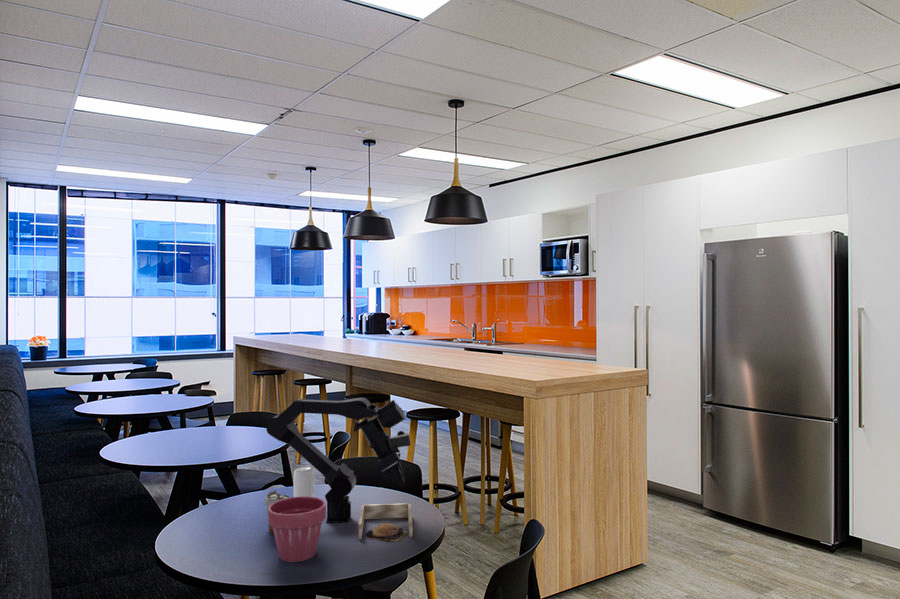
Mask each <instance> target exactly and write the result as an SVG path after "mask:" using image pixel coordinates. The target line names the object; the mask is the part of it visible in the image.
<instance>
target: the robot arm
mask: <svg viewBox="0 0 900 599" xmlns="http://www.w3.org/2000/svg"><path fill="white" fill-rule="evenodd" d="M301 414H317V415H318V414H319V415H336V416H337V415H338V416H342V417H345V418H348V419H351V420H356V421H355V422H354V427H353V432H354V433H355V432H357V431H359V430H361V432H362V434H363V435H364V436H365V439H366V440H367V442H368V445H369V447H370V449H372V451H373V452H374V454H375V455H376V459H377V461H378V463H377V468H378V469H379V471H380V472H382V473H383V474H385V475H386V476H387V477H389V478H390V479H392V480H393V481H394V482H396V483H397V484H398V485H400V486H401V487H402V486H403V487H404V486H405V484H406V483H405V479H406V478H405V475H404V471H403V468H402V466H401V459H400V458H401V452H400V451H401V450H400V448H401V447H402V448H403V447H410V446H411V445H412V443H411V438H410V433H406V432H404V431H403V430H399V431H397V434H396V435H394V436H390V434H389V433H387V432H386V431H385V429H384V428H387V429H389V430H390V429H391V428H393V427H395V426H396V425H398V424H400V423H401V422H403V421H405V420H406V414H405V413H404V410H403V409H402V407H401V406H399V404H398V403H397V402H396V401H395V399H392V400H390V401H389V402H388V403H387V404H386V405H384V406H382V407H380V406H378V405H375V404H372V403H371V402H370V401H369V400H368V399H367V398H365V397H356V398H350V399H344V400H327V399H325V400H322V399H305V398H299V399H298V398H297V399H296V400H294V401H292V403H291V404H290V405H289V406H288V407H287V408H286V409H285V410H283V411H282V412H281V413H280V414H278V415H275V416H273V417H272V418H270V419H269V420H268V421H267V422H266V425H265V426H266V432H267V435H270V436H271V437H273V438H274V439H276V440H277V441H279V442H282V443H284V444H287V445H289V447H291V448H292V449H293V450H294V451H296V453H298V454H299V455H300V456H301V457H302V458H303V459H304V460H306V461H307V462H308V463H309V464H310V466H312V467H314V468H315V469H316V471H318V472H319V473H320V474H321V475H323V477H324V478H325V481H326V483H327V484H328V486H329V488H330V489H329V490H328V491H327V492H326V494H325V495H324V498H325V500H326V518H325V519H326V521H325V523H347V522H349V521H350V518H352V517H351V516H352V501H351V500H350V496H349V494H350V493H351V492H352V491H353V489H354V488H355V487H356V483H357V477H356V475H355V474H354V472H355V471H354V470H352V468H351V469H350V468H349V467H348V465H347V464H346V463H344V462H343V463H342V464H340V465H339V464H336V463H334V462H333V461H332V460H331V459H330V458H329V457H327V456H326V455H325V454H324V453H323V452H322V451H320V449H319V448H317V447H316V446H315V445H314V444H313V443H312V442H311V441H310V440H308V439H307V438H306V437H305V436H304V435H303V434H301V433H300V431H299V429H298V427H297V425H296V423H295V422H294V421H295V420H296V419H298V418H299V416H300V415H301ZM376 415H377V416H376ZM364 418H365V419H364ZM360 420H361V421H360Z"/></svg>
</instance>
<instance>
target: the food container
mask: <svg viewBox="0 0 900 599" xmlns="http://www.w3.org/2000/svg"><path fill="white" fill-rule="evenodd" d="M286 498H291V497H290V496H289V495H286V494H280V493H278V492H277V489H273V490H270V491H269V492H268V493H266V496H265V499H264V505H265V506H266V510H267V512H268V508H269V506H270V505H271V504H273V503H274V502H277V501H279V500H282V499H286ZM268 532H269V533H270V534H271V535H274V532H273V527H272V526H271V525H270V524H269V522H268Z"/></svg>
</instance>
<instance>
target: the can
mask: <svg viewBox="0 0 900 599" xmlns="http://www.w3.org/2000/svg"><path fill="white" fill-rule="evenodd" d="M313 467H314V466H312V465H299V466H296V467H294V472H293V497H315V471H314V468H313Z"/></svg>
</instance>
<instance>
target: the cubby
mask: <svg viewBox="0 0 900 599" xmlns="http://www.w3.org/2000/svg"><path fill="white" fill-rule="evenodd" d="M360 508H361V509H360V515H359V520H358V540H362V538H363V532H364V526H365V524H364V523H365V520H376V519H378V520H379V519H405V518H406V519H408V520H407V521H408V534H409V538H413V513H412V504H411V503H410V502H409V503H408V502H407V503H404V502H403V503H378V504H377V503H376V504H375V503H374V504H361V507H360Z"/></svg>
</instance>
